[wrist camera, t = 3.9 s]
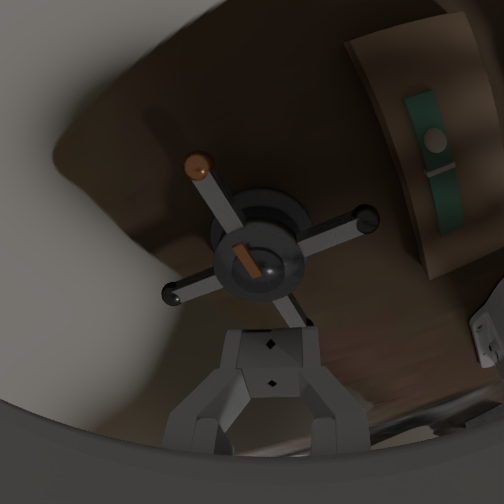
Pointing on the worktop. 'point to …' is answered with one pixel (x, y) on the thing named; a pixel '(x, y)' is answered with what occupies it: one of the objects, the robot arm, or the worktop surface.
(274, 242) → the capstan
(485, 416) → the light bulb box
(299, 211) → the pedestal
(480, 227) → the level stand
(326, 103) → the worktop surface
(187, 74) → the worktop surface
